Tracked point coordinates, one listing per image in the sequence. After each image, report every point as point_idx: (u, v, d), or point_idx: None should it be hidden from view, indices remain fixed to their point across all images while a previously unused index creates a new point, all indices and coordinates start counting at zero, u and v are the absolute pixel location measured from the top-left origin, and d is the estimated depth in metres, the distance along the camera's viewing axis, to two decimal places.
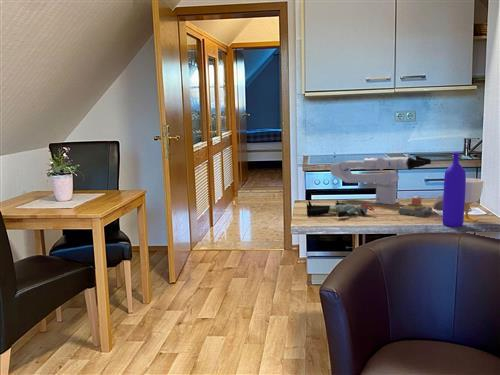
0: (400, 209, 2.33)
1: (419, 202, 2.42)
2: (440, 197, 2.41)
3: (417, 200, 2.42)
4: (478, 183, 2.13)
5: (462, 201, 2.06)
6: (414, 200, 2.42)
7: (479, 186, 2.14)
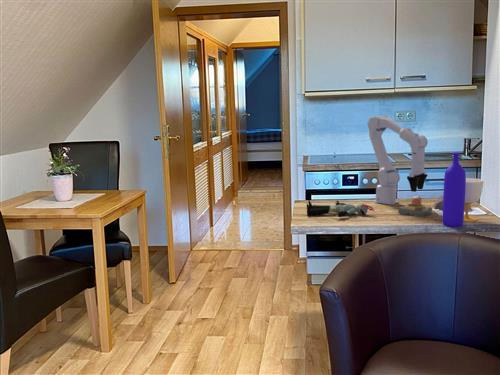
0: (400, 209, 2.33)
1: (419, 202, 2.42)
2: (441, 197, 2.41)
3: (417, 200, 2.42)
4: (478, 183, 2.13)
5: (462, 201, 2.06)
6: (414, 200, 2.42)
7: (479, 186, 2.14)
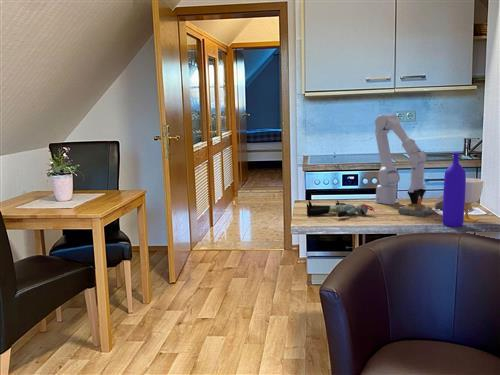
0: (400, 209, 2.33)
1: (419, 202, 2.42)
2: (442, 197, 2.41)
3: None
4: (478, 183, 2.13)
5: (462, 201, 2.06)
6: None
7: (479, 186, 2.14)
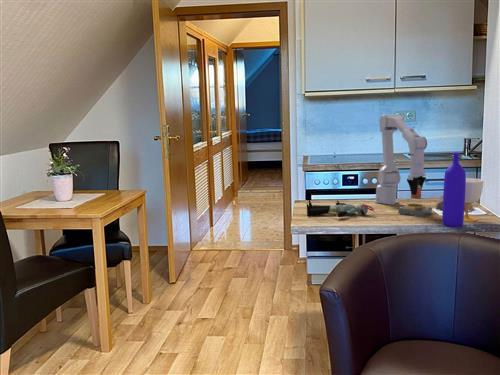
0: (400, 209, 2.33)
1: (419, 191, 2.31)
2: None
3: None
4: (478, 183, 2.13)
5: (462, 201, 2.06)
6: None
7: (479, 186, 2.14)
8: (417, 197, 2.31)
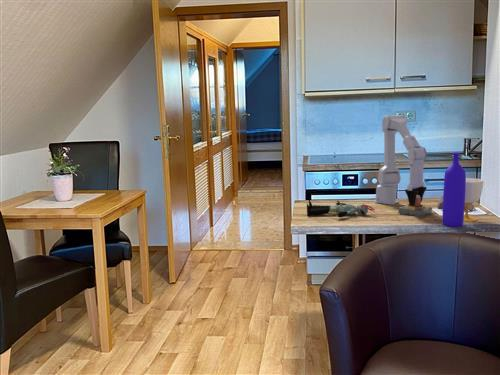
0: (400, 209, 2.33)
1: (418, 202, 2.31)
2: None
3: (416, 199, 2.30)
4: (478, 183, 2.13)
5: (462, 201, 2.06)
6: None
7: (479, 186, 2.14)
8: None
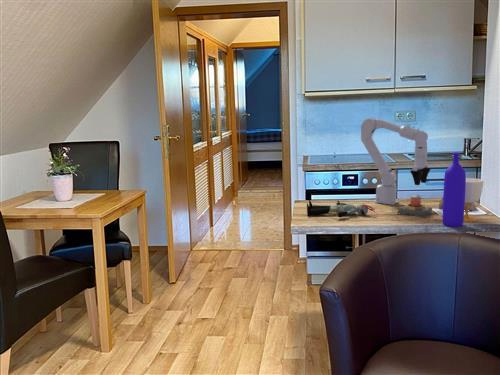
0: (400, 209, 2.33)
1: (418, 201, 2.31)
2: None
3: (416, 199, 2.30)
4: (478, 183, 2.13)
5: (462, 201, 2.06)
6: (413, 199, 2.31)
7: (479, 186, 2.14)
8: None
